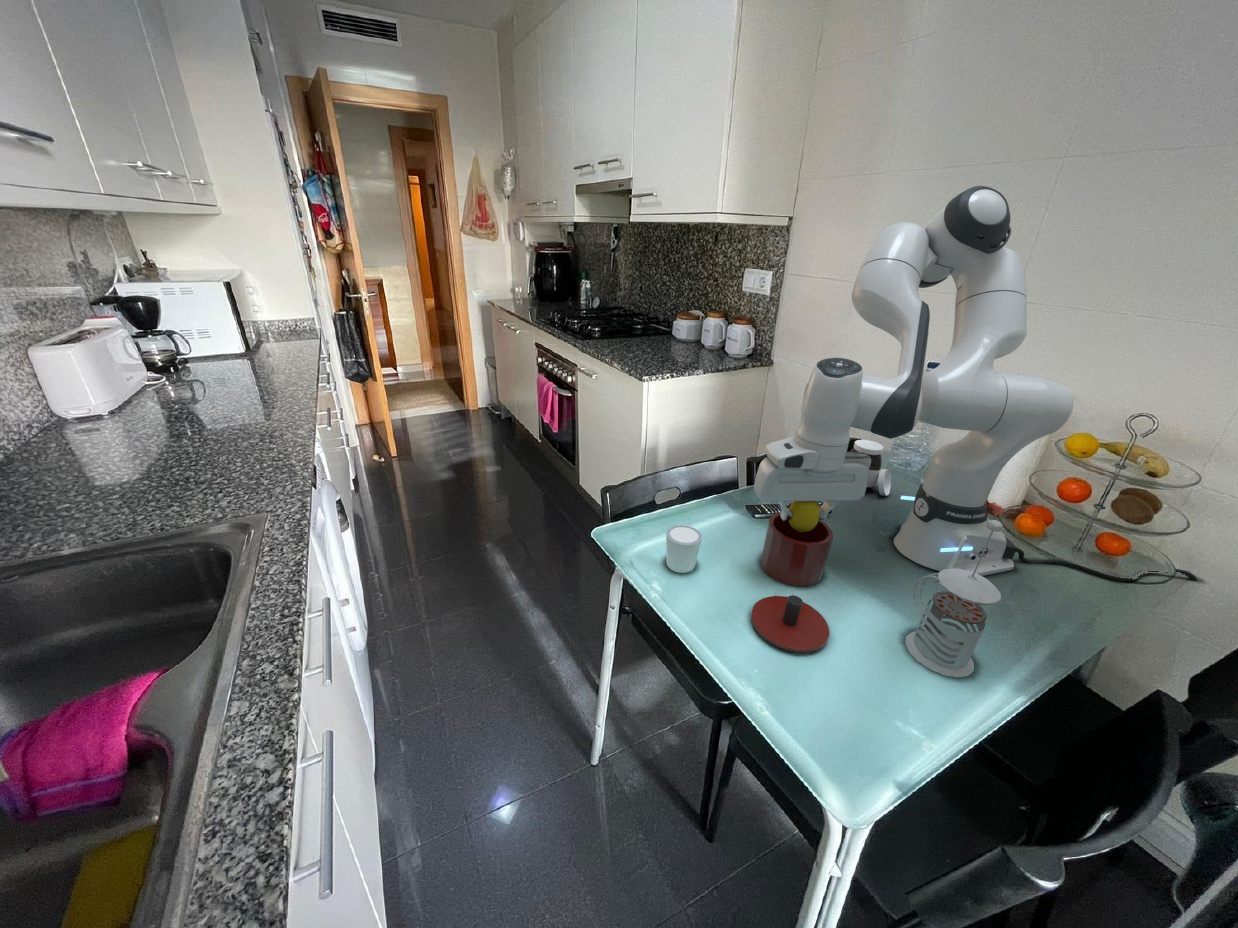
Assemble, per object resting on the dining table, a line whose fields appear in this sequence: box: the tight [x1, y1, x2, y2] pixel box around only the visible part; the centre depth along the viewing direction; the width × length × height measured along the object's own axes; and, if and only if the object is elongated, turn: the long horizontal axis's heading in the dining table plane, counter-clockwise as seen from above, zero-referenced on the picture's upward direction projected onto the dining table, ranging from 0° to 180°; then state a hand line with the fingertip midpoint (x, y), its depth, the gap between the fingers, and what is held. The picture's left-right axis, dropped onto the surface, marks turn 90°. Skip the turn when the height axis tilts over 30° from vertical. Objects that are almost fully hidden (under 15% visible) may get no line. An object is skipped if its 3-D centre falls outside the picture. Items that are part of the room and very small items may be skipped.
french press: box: [904, 519, 1004, 679], centre depth 76 cm, size 10×12×25 cm
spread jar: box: [849, 439, 892, 497], centre depth 130 cm, size 12×11×12 cm
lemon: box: [788, 501, 820, 533], centre depth 94 cm, size 6×6×8 cm
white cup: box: [665, 524, 703, 574], centre depth 97 cm, size 7×7×7 cm
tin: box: [760, 511, 834, 587], centre depth 97 cm, size 12×12×10 cm
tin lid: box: [750, 594, 830, 653], centre depth 83 cm, size 13×13×6 cm
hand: (802, 518), depth 95 cm, fingers closed on lemon, 5 cm apart
